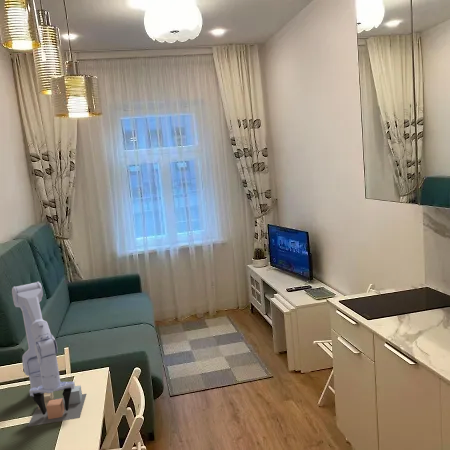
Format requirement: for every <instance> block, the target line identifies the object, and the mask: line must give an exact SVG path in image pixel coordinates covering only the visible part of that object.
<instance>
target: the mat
mask: <svg viewBox="0 0 450 450" xmlns="http://www.w3.org/2000/svg"><path fill="white" fill-rule="evenodd" d="M86 397H87V393H82V400H81V403H76V404H70V405H69V409H68V411H66V409H65V401H64V397H63V396H62V397H58V398H54V400H56V399H62V398H63V405H64V413H63V416H62V417H59V418H53V419H48V413H47V408H46V413H45V414H44V415H43V414H42V411H41V409H40V410H39V407H38V405H37V406H36V408H35V410H34V412H33V414H32V417H31V418H30V420H29V422H28V424H27V427H30V428H31V427H34V426H40V425H45V424H46V425H47V424H50V423H51V424H52V423H57V422H63V421H69V420H76V419H80V418H81V415H82V411H83V409H84V408H83V407H84V404H85V402H86V401H85V400H86ZM27 427H26V428H27Z"/></svg>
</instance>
